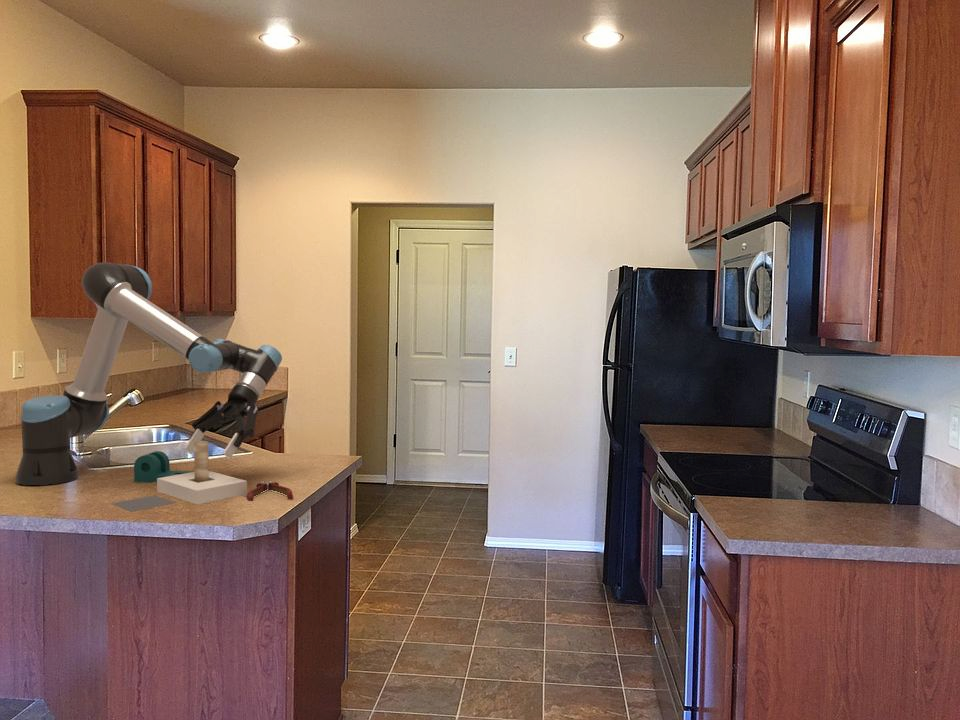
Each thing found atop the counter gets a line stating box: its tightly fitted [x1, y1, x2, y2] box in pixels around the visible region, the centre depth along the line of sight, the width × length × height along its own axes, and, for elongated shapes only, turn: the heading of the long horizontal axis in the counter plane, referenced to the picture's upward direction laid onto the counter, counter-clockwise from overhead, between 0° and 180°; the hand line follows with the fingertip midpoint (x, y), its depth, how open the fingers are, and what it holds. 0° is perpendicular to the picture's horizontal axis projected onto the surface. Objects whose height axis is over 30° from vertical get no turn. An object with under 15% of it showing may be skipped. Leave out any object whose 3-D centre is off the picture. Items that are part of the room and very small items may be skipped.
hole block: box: [156, 470, 248, 506], centre depth 188 cm, size 20×14×4 cm
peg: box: [193, 440, 210, 483], centre depth 188 cm, size 4×4×14 cm
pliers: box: [246, 480, 294, 502], centre depth 191 cm, size 12×20×3 cm, turn 20°
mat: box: [111, 494, 177, 513], centre depth 177 cm, size 11×11×1 cm
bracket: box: [133, 450, 194, 483], centre depth 203 cm, size 18×7×8 cm, turn 84°
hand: (206, 453), depth 188 cm, fingers open, 13 cm apart
